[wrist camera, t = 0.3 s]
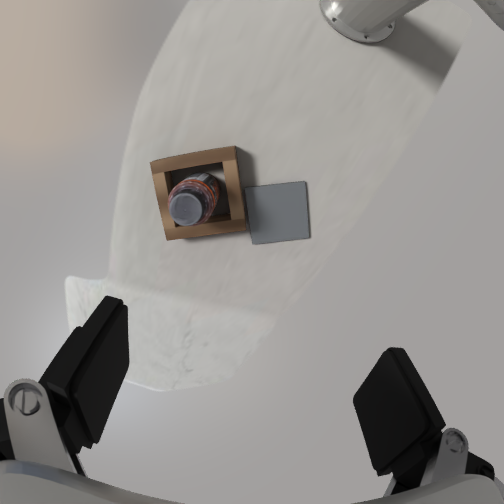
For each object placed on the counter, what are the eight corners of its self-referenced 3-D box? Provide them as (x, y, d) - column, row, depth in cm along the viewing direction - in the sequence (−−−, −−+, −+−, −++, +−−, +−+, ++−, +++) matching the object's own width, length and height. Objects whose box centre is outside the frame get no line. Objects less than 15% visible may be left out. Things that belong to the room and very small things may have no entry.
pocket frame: (157, 159, 40) (149, 162, 36) (235, 145, 39) (233, 146, 36) (172, 232, 44) (166, 240, 41) (246, 222, 44) (245, 230, 41)
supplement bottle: (223, 206, 43) (214, 232, 33) (186, 211, 43) (166, 238, 33) (218, 168, 40) (206, 181, 30) (179, 174, 41) (156, 189, 30)
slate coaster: (244, 187, 42) (244, 188, 41) (304, 181, 41) (305, 181, 41) (252, 243, 45) (252, 244, 45) (308, 236, 45) (309, 237, 44)
